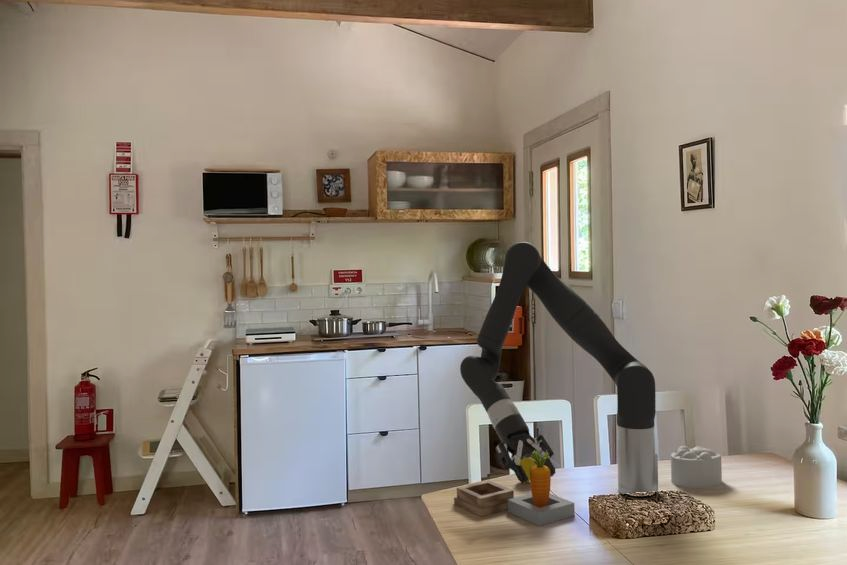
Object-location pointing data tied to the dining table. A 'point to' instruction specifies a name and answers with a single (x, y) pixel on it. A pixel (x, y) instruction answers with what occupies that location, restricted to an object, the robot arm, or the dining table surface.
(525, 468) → the lemon
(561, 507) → the socket block
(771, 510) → the dining table surface
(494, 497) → the square wooden tray
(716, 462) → the lumpy-topped squat cylinder
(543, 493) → the carrot
